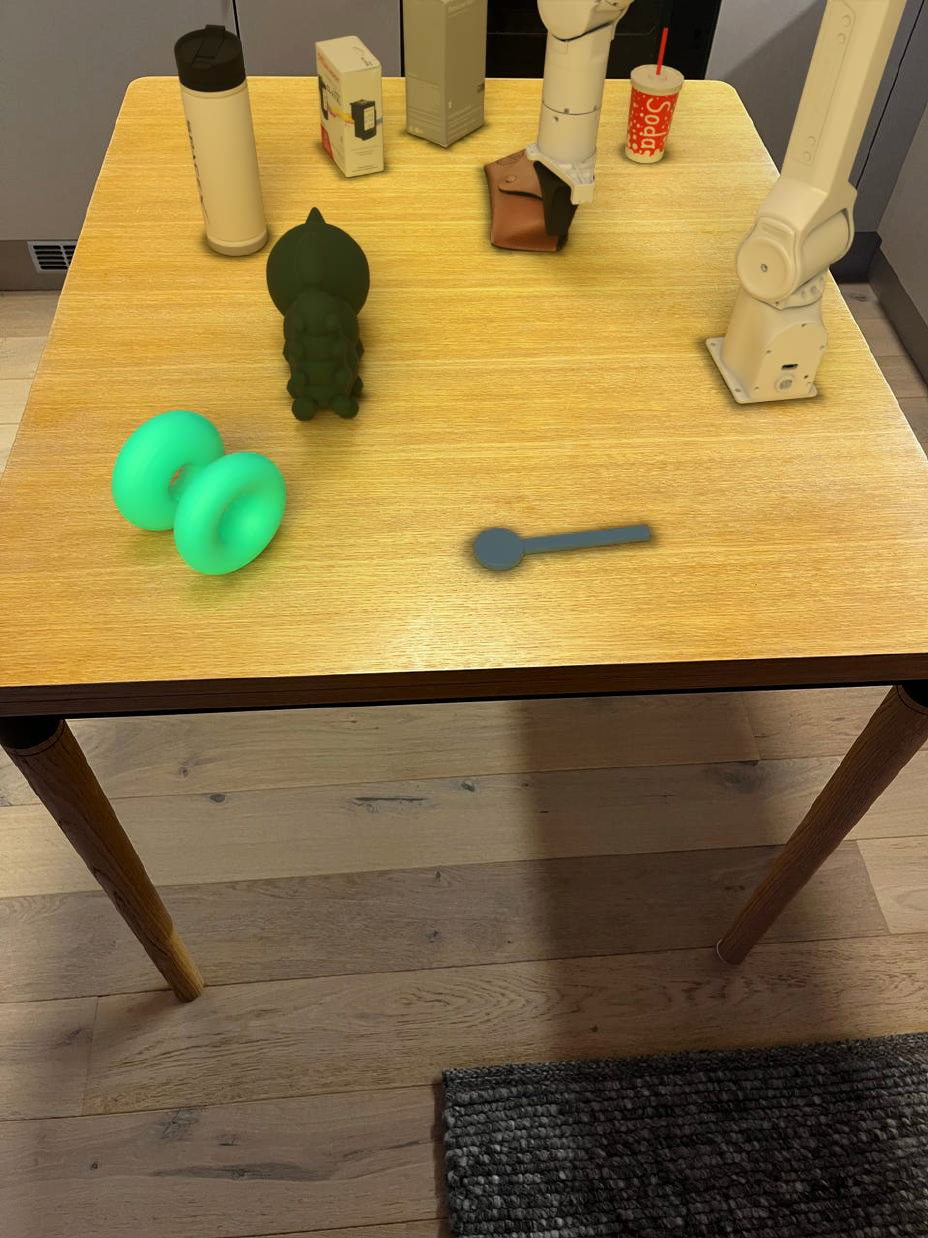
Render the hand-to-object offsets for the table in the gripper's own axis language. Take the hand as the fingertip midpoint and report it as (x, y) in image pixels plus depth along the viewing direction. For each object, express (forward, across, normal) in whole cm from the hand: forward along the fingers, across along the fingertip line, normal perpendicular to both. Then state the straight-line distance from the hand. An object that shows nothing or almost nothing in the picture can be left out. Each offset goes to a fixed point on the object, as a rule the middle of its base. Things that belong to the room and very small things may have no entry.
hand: (556, 233), depth 105 cm
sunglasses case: (+3, -10, -1) cm, 10 cm away
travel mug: (+3, -7, -33) cm, 34 cm away
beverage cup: (+3, -20, +16) cm, 26 cm away
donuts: (+3, +36, -37) cm, 52 cm away
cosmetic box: (+3, -29, -7) cm, 30 cm away
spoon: (+2, +41, -10) cm, 42 cm away
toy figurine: (+3, +16, -26) cm, 31 cm away
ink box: (+3, -23, -19) cm, 30 cm away
